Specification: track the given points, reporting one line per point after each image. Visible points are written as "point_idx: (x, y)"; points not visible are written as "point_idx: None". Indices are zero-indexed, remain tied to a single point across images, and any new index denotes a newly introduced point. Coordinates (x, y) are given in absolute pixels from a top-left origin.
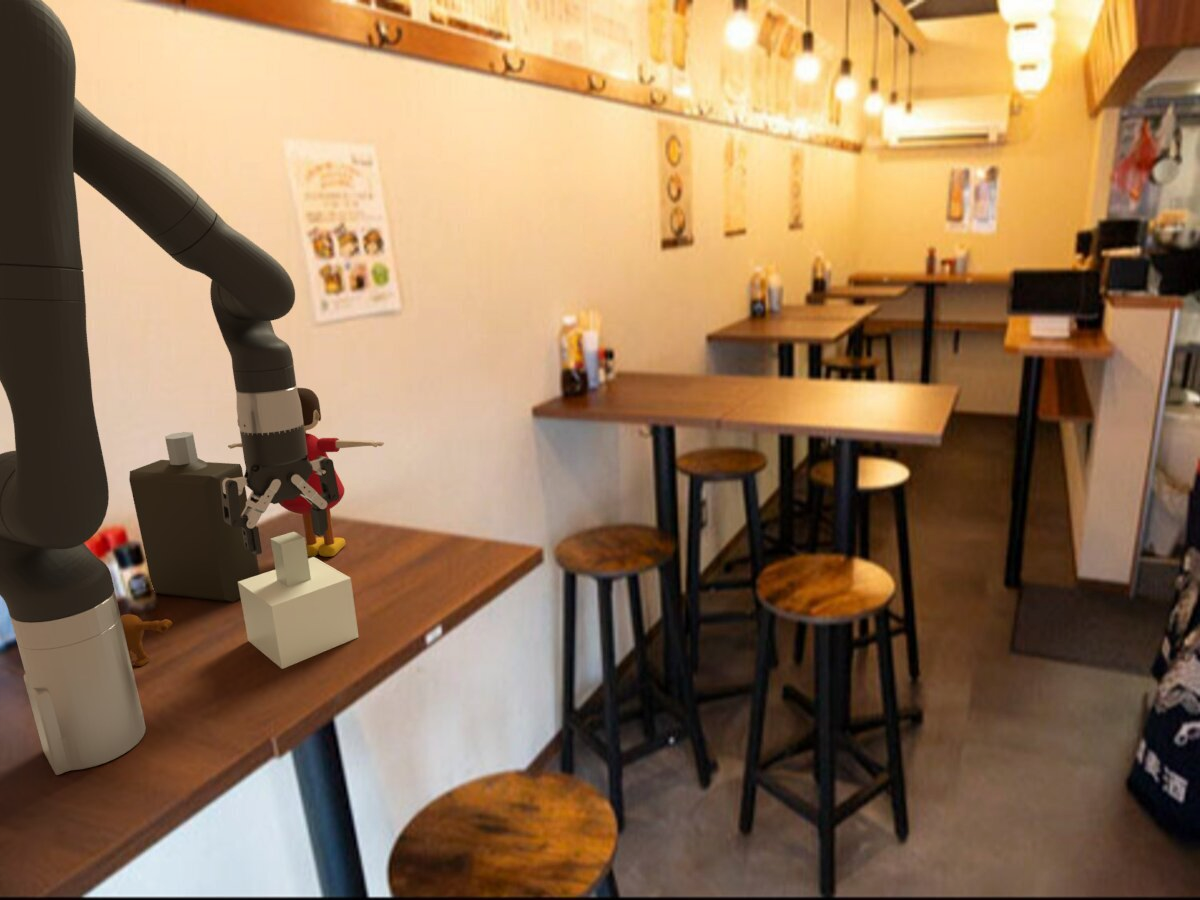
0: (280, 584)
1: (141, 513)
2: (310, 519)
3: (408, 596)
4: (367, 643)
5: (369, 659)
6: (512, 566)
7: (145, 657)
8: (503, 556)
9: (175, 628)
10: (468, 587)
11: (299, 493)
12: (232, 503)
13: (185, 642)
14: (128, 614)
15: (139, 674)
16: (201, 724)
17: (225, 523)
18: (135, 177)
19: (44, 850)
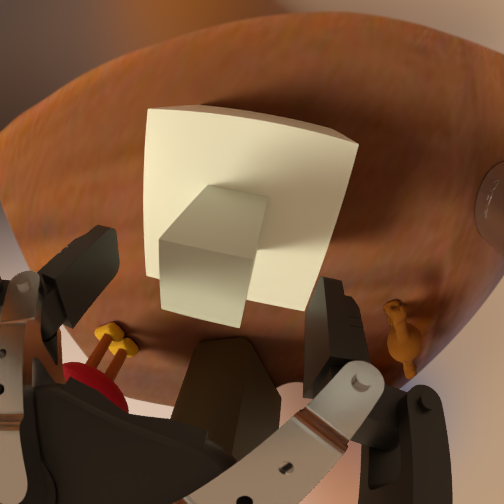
0: (267, 225)
1: None
2: (108, 371)
3: (90, 157)
4: (204, 77)
5: (235, 35)
6: (5, 130)
7: (391, 307)
8: (2, 160)
9: None
10: (43, 118)
11: (47, 388)
12: (439, 492)
13: None
14: (401, 358)
15: (409, 287)
16: (459, 125)
17: (215, 427)
18: None
19: None
